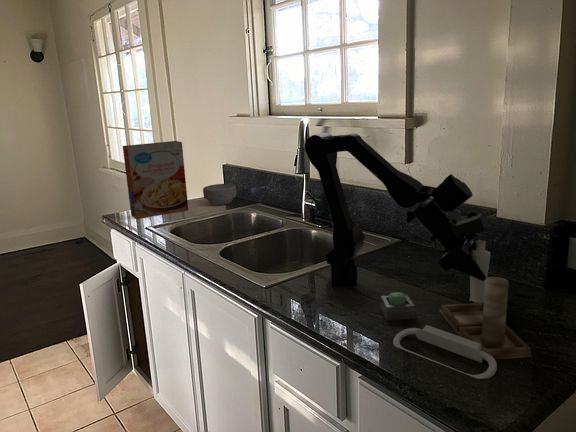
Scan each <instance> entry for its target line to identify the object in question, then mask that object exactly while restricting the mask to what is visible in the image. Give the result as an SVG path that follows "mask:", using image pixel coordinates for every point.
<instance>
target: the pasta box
mask: <svg viewBox="0 0 576 432" xmlns="http://www.w3.org/2000/svg"><path fill="white" fill-rule="evenodd" d="M122 154H123V161H124V169H125V177H126V183H127V186H126V187H127V193H128V201H129V209H130V216H131V217H132V218H134V219H136V220H139V219H147V218H152V217H158V216H164V215H170V214H175V213H181V212H186V211H187V212H188V211H189V202H188V200H189V199H188V194H187V193H188V191H187V181H186V170H185V161H184V160H185V159H184V151H183V141H177V140H170V141H162V142H152V143H151V142H150V143H139V144H130V145H122Z"/></svg>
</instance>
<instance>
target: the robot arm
mask: <svg viewBox="0 0 576 432" xmlns="http://www.w3.org/2000/svg"><path fill="white" fill-rule="evenodd" d="M304 151H305V153H306V156H307V158H308V160H309V163H311V165H312V166H313V167H314V168H315V169H316V171H317V173H318V176H319V179H320V183H321V185H322V189H323V192H324V195H325V200H326V202H327V207H328V210H329V214H330V217H331V221H332V225H333V228H332V229H333V230H332V245H333V246H332V247H333V248H332V249H331V250H330V251H329V252H328V253H327V254H326V255H325V256H324V258H325V261H326V264H327V265H329V276H328V279H329V283H330V286H331V287H332V288H339V287H356V286H357V284H358V283H357V281H358V265H357V264H356V261H355V259H354V258H355V257H357V255H358V253H359V252H360V251H361V250H362V249H363V247H364V245H365V241H364V240H365V239H366V237H365V234H364V232H363V226H362V224H361V223H359V224H356V223H355V222H354V221H353V220H352V217H351V214H350V210H349V207H348V204H347V200H346V197H345V196H346V195H345V192H344V190H343V187H342V182H341V179H340V175H339V171H338V168H337V167H338V166H337V160H338V153H339V152H348V153H349V154H350V155H351V156H352V157H354V158H355V160H356V161H358V162H359V163H360V164H361V165H362V166H363V167H364V168H365V169H367V170H368V171H369V172H370V173H371V174H372V175H373V176H375V177H376V178H377V179H378V180H379V181H380V182H381V183H382V184H383V186H384V187H385V188H386V190H387V194H389V196H390V197H391V198H392V199H393V201H394V202H395V203H396V205H398V206H399V207H401V208H402V209H408V210H407V211H406V214H407V215H406V216H407V218H406V223H407V224H410V223H411V222H412V221H413V220H416V221H417V222H418V223H419V224H420V225H421V226H422V227H423V228H424V229H425V230H426V231H427V232H428V234H429V235H430V238H429V239H430V240H431V241H432V242H434V241H436V242H437V243H438V244H439V245H440V246H441V248H442V253H443V254H442V256H441V257H440V258H439V263H438V266H439V268H441V269H442V270H443V271H444V272H448V271H449V270H450V269H451V270H455V271H457V272H461V273H463V274H466V275H468V276H469V277H470V276H472V277H475V278H477V279H479V280H481V281H484V280H485V279H486V276H485V274H484V273H483V271H482V270H481V269H480V267H479V266H478V264H477V263H476V262H475V260H474V259H473V251H474V250H476V241H479V240H480V238H477V237H479V236H480V234H481V233H483V232H485V231H486V229H487V228H488V224H487V221H486V220H485V219H486V216H485V215H483V214H482V212H481V213H480V212H478V211H477V210H475V209H474V210H471V211H469V212H468V213H467V218H464V219H462V220H458V219H456V217H451V218H450V217H449V216H448V214H447V213H448V212H450V213H454V212H455V211H456V210H457V209H459V207H461V206H462V205H463V204H464V203H466V202H468V200H470V199H471V198H472V197H473V192H472V189H470V187H469V186H468V184H466V183H465V182H464V181H462V180H460V179H459V178H457V177H455V176H454V175H453V174H451V173H450V174H449V175H447V176H446V177H445V179H444V180H443V181H441V183H440V184H438V186H430V185H425V184H422V182H420V181H419V180H418V179H416V178H414V177H413V176H411V175H409V174H407V173H406V172H402V171H400V170H398V169H397V168H396V167H395V166H394V165H392V164H391V162H389V161H387V159H385V158H384V157H383V156H382V155H381V154H380V153H379V152H378V151H376V150H375V149H374V148H373V147H372V146H371V145H369V143H367V142H366V141H365V140H364V139H363V137H362V136H361V135H360V134H358V133H354V132H353V133H351V134H340V135H332V134H331V133H329V132H321V133H317V134H312V135H310V136H308V138H307V139H306V141H305V143H304ZM430 198H433V199H431V200H430V201H429V202H428V203H426V202H427V201H428V200H429V199H430ZM417 204H419V205H417ZM415 205H417V206H416V207H415ZM412 207H415V209H409V208H412ZM445 212H446V213H445ZM474 238H477V239H476V240H473V239H474ZM488 273H490V268H489V269H488Z"/></svg>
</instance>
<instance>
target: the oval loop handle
mask: <svg viewBox="0 0 576 432" xmlns="http://www.w3.org/2000/svg"><path fill="white" fill-rule="evenodd" d="M409 335H415V336H416V339H417V340H420V341H422V342H425V343H427V344H430V345H434V346H436V347H438V348H441V349H444V350H446V351H450V352H451V353H454V354H457V355H458V356H459V355H460V356H462V357H465V358H467V359H470V360H473V361H475V362H478V363H483V360H482V358H483V359H484V361H486V362H487V364H488V368H487V370H485V371H483V372H482V373H479V374H470V373H466V372H463V371H461V370H458V369H457V368H453V367H451V366H449V365H445V364H444V363H441V362H439V361H436V360H434V359H431V358H428V357H426V356H424V355H421V354H418V353H416V352H414V351H412V350H408V349H406V348H405V347H403V346H402V345H401V340H402V339H404V337H407V336H409ZM392 339H393V340H392V344H393V346H395V348H398V349H400V350H404V351H405V352H408V353H410V354H413V355H416V356H418V357H422V358H423V359H427V360H428V361H431V362H433V363H437V364H439V365H441V366H445V367H446V368H450V369H451V370H454V371H457V372H459V373H462V374H463V375H467V376H470V377H472V378H475V379H479V380H483V379H491V378H492V377H493V376H494V375H495V374H496V372H497V369H498V365H497V361H496V359H494V358H493V357H492V356H491V355H489V354H488V353H486V352H484V351H481V344H480V343H477V342H474V341H471V340H468V339H465V338H462V337H460V336H458V334H453V333H450V332H448V331H446V330H442V329H439V328H437V327H434V326H430V325H427V324H426V325H425V326H424V327H423V328H422V329H421V328H418V327H417V328H416V327H410V328H409V327H408V328H406V329H402V330H400V331H399V332H398V333H397V334H395V336H394V337H393V338H392ZM478 351H479V352H478Z"/></svg>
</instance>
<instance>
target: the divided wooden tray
mask: <svg viewBox="0 0 576 432" xmlns="http://www.w3.org/2000/svg"><path fill="white" fill-rule="evenodd" d="M483 308H484V303H475V302H473V303H456V304H455V303H453V304H441V307H440V309H438V311H439V313H441V314H442V316H443V318H445V320H446V321H447V322H448V324H449V326H451V328H452V329H453V330H454V332H455V333H456V335H457V336H460V337H462V338H465V339H468V340H471V341H474V342H477V343H480V344H481V351H484V352H486V353H488V354H489V355H491V356H492V357H493V358H494V359H495V360H501V359H502V360H503V359H504V360H505V359H516V358H517V359H519V358H532V357H533V356H532V355H531V350H532V348H531V347H530V346H529V345H528V344H527V343H526V342H525V341H524V340H523V339H522V338H521V337H519V335H518V334H517V333H516V332H514V330H513V329H512V328H511V327H510V326H508V324H506V326H505V340H504V348H494V349H488V348H486V347H484V346H483V345H482V343H481V342H482V325H483ZM478 352H479V351H478ZM483 360H484V359H483V358H482V361H483ZM484 361H485V360H484Z"/></svg>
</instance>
